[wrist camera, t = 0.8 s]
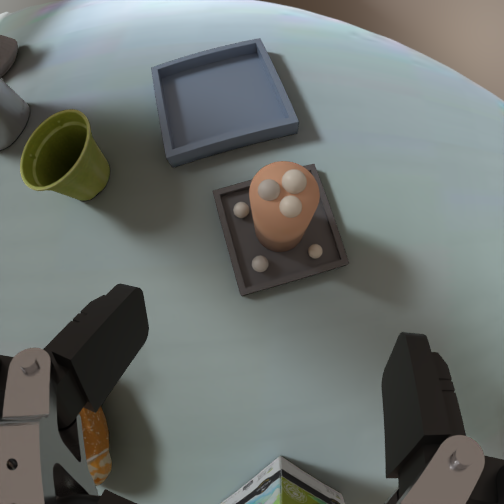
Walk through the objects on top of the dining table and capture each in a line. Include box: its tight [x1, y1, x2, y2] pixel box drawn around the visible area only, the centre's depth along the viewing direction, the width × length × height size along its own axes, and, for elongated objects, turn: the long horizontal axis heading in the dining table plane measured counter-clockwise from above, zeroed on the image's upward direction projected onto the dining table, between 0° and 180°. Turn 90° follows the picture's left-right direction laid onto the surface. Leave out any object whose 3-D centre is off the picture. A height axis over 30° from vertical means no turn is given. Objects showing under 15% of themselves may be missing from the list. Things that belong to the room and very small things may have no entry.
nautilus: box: [79, 406, 112, 486], centre depth 27 cm, size 8×22×15 cm
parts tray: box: [213, 164, 349, 296], centre depth 32 cm, size 11×11×2 cm
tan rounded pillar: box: [249, 161, 320, 252], centre depth 27 cm, size 5×5×11 cm
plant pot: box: [20, 109, 110, 201], centre depth 31 cm, size 9×9×9 cm
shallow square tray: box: [151, 38, 299, 167], centre depth 35 cm, size 15×15×2 cm
